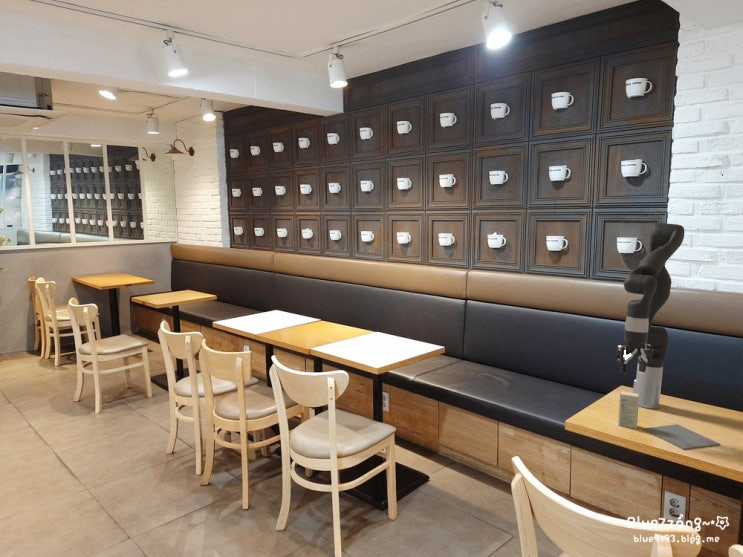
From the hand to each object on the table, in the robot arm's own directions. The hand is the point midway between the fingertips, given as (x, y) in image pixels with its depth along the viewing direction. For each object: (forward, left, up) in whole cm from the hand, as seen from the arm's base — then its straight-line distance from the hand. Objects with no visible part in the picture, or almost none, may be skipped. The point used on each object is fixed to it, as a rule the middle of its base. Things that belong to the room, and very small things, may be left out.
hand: (632, 372), depth 188 cm
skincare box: (0, 0, -21) cm, 21 cm away
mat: (+13, +11, -20) cm, 26 cm away
